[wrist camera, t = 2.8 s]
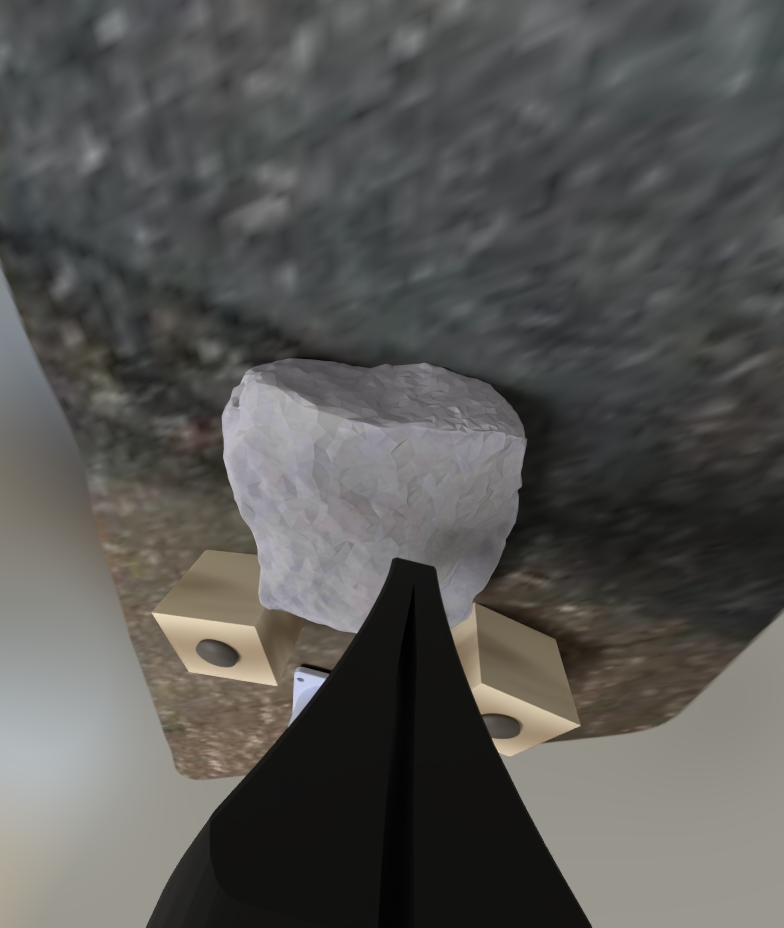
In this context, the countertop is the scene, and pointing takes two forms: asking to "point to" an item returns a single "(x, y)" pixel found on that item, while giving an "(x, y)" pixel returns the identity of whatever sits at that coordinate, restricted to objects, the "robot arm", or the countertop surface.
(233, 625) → the beech block
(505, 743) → the beech block
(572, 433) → the countertop surface
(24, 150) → the countertop surface
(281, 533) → the stone block
